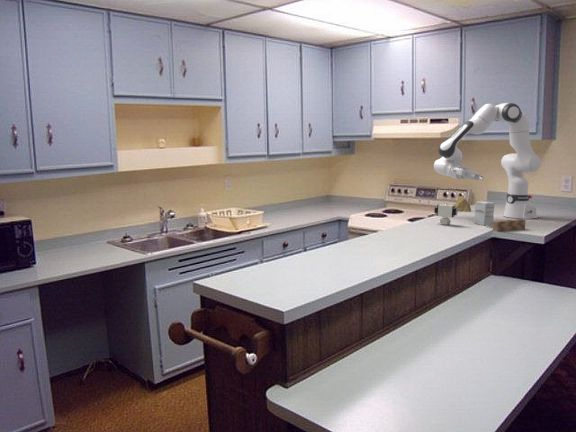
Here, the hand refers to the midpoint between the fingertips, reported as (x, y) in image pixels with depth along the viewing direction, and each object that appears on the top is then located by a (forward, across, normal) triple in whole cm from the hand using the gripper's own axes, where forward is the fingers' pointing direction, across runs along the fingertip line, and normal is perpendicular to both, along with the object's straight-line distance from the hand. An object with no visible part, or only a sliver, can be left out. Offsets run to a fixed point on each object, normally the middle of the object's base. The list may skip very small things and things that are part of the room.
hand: (479, 177), depth 293 cm
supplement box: (+11, +1, +25) cm, 27 cm away
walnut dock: (+23, -3, +23) cm, 33 cm away
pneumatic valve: (0, -18, +30) cm, 35 cm away
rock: (-24, +37, +25) cm, 51 cm away
